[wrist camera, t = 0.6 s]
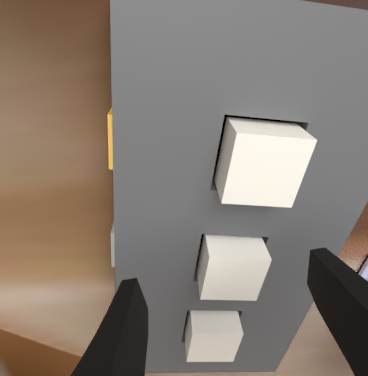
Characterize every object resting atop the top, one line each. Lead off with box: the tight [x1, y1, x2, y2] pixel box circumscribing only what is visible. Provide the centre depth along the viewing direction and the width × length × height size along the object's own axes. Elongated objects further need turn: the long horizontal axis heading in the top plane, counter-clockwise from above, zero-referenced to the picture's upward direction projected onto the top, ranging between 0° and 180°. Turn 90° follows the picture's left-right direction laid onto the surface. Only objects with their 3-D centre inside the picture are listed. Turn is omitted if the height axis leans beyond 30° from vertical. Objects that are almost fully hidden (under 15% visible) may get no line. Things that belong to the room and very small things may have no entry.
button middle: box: [197, 234, 272, 301], centre depth 19 cm, size 4×4×2 cm
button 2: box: [185, 310, 243, 362], centre depth 23 cm, size 4×4×2 cm
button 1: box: [214, 117, 317, 208], centre depth 15 cm, size 4×4×2 cm
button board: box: [108, 0, 368, 373], centre depth 21 cm, size 16×31×2 cm, turn 173°
